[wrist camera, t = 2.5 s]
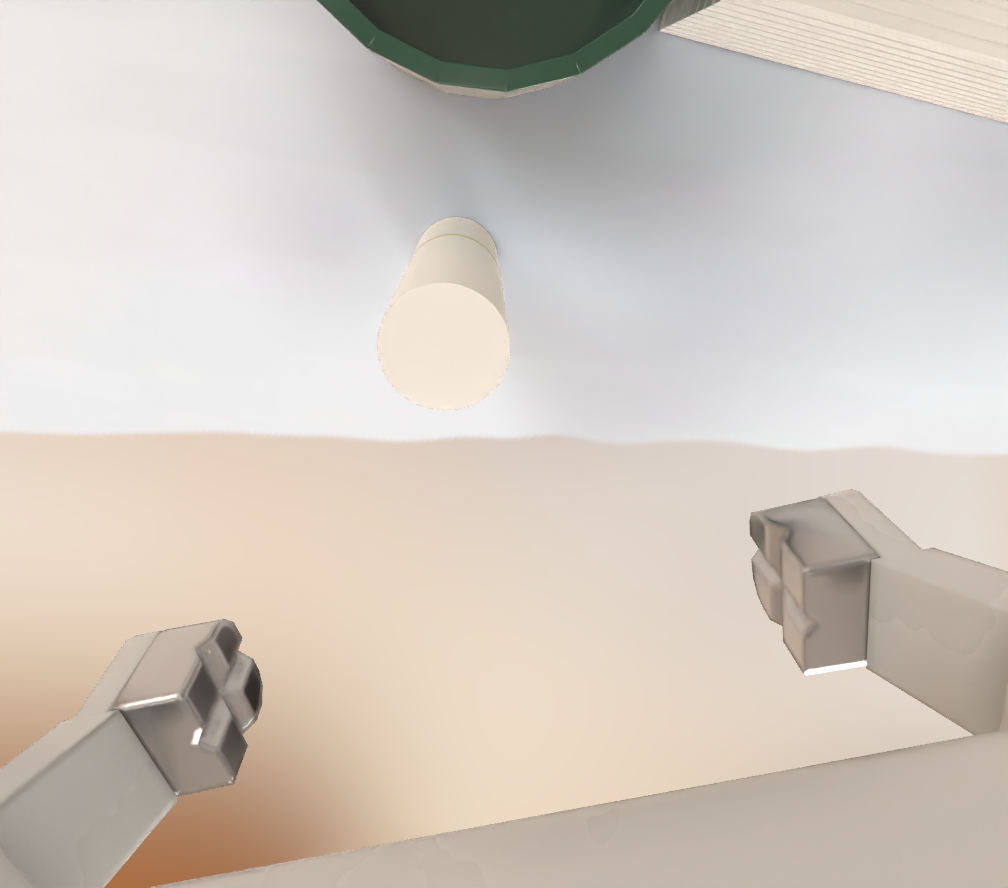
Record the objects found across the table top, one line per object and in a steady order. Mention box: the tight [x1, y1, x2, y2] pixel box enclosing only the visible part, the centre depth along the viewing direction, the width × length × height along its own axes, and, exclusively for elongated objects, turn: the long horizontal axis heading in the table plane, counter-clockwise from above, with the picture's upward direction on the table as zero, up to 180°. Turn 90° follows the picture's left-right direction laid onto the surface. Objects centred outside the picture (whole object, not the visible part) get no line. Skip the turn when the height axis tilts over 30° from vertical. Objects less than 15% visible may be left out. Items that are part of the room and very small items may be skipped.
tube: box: [377, 217, 511, 411], centre depth 28 cm, size 4×4×15 cm
